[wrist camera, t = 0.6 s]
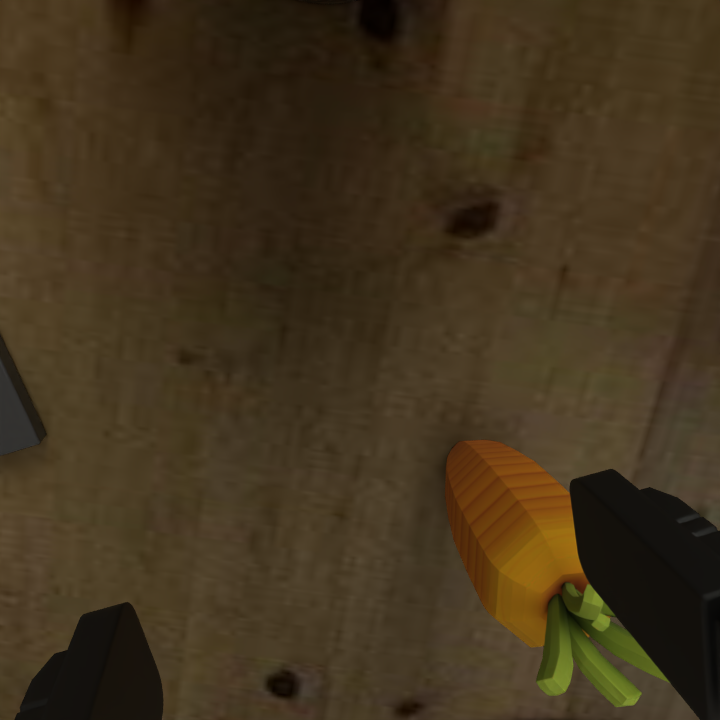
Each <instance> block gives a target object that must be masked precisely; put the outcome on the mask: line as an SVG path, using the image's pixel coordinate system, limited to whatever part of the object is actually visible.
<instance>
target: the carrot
mask: <svg viewBox="0 0 720 720" xmlns="http://www.w3.org/2000/svg"><path fill="white" fill-rule="evenodd" d="M445 499H446V505H447V512H448V518H449V522H450V526H451V531H452V535H453V539H454V542H455V544H456V547H457V549H458V552H459V554H460V556H461V559H462V561H463V563H464V566H465V568H466V571H467V573H468V575H469V577H470V579H471V581H472V583H473V585H474V587H475V589H476V592H477V594H478V596H479V598H480V600H481V602H482V604H483V606H484V607H485V609H486V610H487V612H488V613H489V614H491V615H492V616H493V617H494V618H495V619H496V620H498V621H499V622H500V623H501V624H503V625H504V626H505V627H506V628H507V629H509V630H510V631H511V632H512V633H514V634H515V635H516V636H517V637H519V638H520V639H521V640H522V641H523V642H525V643H526V644H527V645H528V646H530V647H539V646H544V650H543V659H542V662H541V665H540V669H539V672H538V676H537V680H536V682H537V684H538V685H539V687H540V688H541V690H542V691H544V692H545V693H546V694H547V695H549V696H551V695H559V694H562V693H564V692H566V690H567V688H568V686H569V684H570V681H571V676H572V671H573V658H574V660H575V662H576V663H577V665H578V667H579V669H580V670H581V671H582V672H583V674H584V675H585V676H586V677H587V678H588V679H589V680H590V682H591V683H592V684H593V685H594V686H595V687H596V688H597V689H598V691H599V692H601V693H602V694H603V695H604V696H605V697H606V698H607V699H608V700H609V701H610V702H611V703H612V704H613V705H614V706H615V707H620V706H630V705H634V704H635V703H636V702H637V700H638V699H639V697H640V696H641V694H642V693H641V692H640V691H639V690H638V689H637V688H636V687H635V686H634V685H633V684H632V683H631V682H630V681H629V680H628V679H627V678H626V677H625V676H624V675H623V674H622V673H621V672H619V671H618V670H617V669H616V668H615V667H614V666H613V665H612V664H611V663H610V662H609V661H607V660H606V659H605V658H604V657H603V656H602V655H601V653H600V652H599V651H598V650H597V648H596V647H595V646H594V645H593V643H592V642H591V641H590V640H589V638H588V637H589V636H591V637H592V638H593V639H594V640H596V641H597V642H598V643H599V644H601V645H602V646H603V647H605V648H606V649H607V650H609V651H610V652H611V653H613V654H614V655H615V656H617V657H619V658H621V659H623V660H625V661H627V662H628V663H630V664H632V665H634V666H636V667H638V668H640V669H641V670H643V671H645V672H647V673H649V674H651V675H654V676H656V677H658V678H660V679H662V680H665V681H667V682H669V681H668V680H667V678H666V677H665V676H664V675H663V673H662V672H661V671H660V670H659V669H658V667H657V666H656V665H655V664H654V662H653V661H652V660H651V659H650V658H649V656H648V655H647V654H646V653H645V651H644V650H643V649H642V648H641V646H640V645H639V644H638V643H637V642H636V640H635V639H634V638H633V637H632V635H631V634H630V633H629V632H628V631H627V630H626V629H624V628H622V627H620V626H618V625H616V624H615V623H613V622H611V621H610V617H616V616H615V615H614V613H613V612H612V611H611V610H610V609H609V607H608V606H607V605H606V604H605V602H604V601H603V600H602V599H601V598H600V596H599V595H598V594H597V593H596V591H595V590H594V589H593V588H592V586H591V585H590V583H589V582H588V580H587V578H586V576H585V574H584V572H583V569H582V567H581V564H580V560H579V557H578V552H577V544H576V537H575V529H574V521H573V513H572V505H571V498H570V493H569V492H568V491H567V490H566V489H565V488H564V487H563V486H561V485H560V484H559V483H558V482H557V481H556V480H555V479H554V478H553V477H552V476H550V475H549V474H548V473H547V472H546V471H545V470H544V469H543V468H541V467H540V466H539V465H538V464H537V463H536V462H535V461H533V460H531V459H530V458H528V457H526V456H525V455H523V454H521V453H520V452H518V451H516V450H514V449H512V448H510V447H508V446H506V445H504V444H503V443H501V442H495V441H490V440H472V441H459V442H458V443H457V444H456V445H455V446H454V447H453V448H452V449H451V451H450V453H449V455H448V456H447V464H446V483H445ZM572 657H573V658H572ZM669 683H670V682H669Z"/></svg>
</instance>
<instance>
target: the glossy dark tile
mask: <svg viewBox="0 0 720 720" xmlns="http://www.w3.org/2000/svg"><path fill="white" fill-rule="evenodd" d="M45 436H46V432H45V430H44V428H43V425H42V423H41V421H40V419H39V417H38V415H37V413H36V410H35V408H34V406H33V404H32V402H31V400H30V398H29V395H28V393H27V391H26V389H25V387H24V385H23V383H22V380H21V378H20V376H19V374H18V372H17V370H16V368H15V365H14V363H13V361H12V359H11V357H10V355H9V353H8V350H7V348H6V346H5V344H4V342H3V340H2V338H1V335H0V456H2V455H5V454H9V453H12V452H15V451H18V450H22V449H25V448H28V447H32V446H35V445H38V444H40V443H41V442H42V440H43V439H44V438H45Z"/></svg>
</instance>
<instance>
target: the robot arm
mask: <svg viewBox="0 0 720 720" xmlns="http://www.w3.org/2000/svg"><path fill="white" fill-rule="evenodd" d="M300 1H304V2H308V3H316V4H342V3H349V2H354V1H358V0H300ZM570 498H571V505H572V513H573V521H574V529H575V537H576V544H577V552H578V557H579V560H580V564H581V567H582V569H583V572H584V574H585V576H586V578H587V580H588V582H589V583H590V585H591V586H592V588H593V589H594V590H595V591H596V593H597V594H598V595H599V596H600V598H601V599H602V600H603V601H604V602H605V604H606V605H607V606H608V607H609V609H610V610H611V611H612V612H613V613H614V615H615V616H616V617H617V618H618V620H619V621H620V622H621V623H622V624H623V626H624V627H625V628H626V629H627V631H628V632H629V633H630V634H631V635H632V637H633V638H634V639H635V640H636V642H637V643H638V644H639V645H640V646H641V648H642V649H643V650H644V651H645V653H646V654H647V655H648V656H649V658H650V659H651V660H652V661H653V662H654V664H655V665H656V666H657V667H658V669H659V670H660V671H661V672H662V673H663V675H664V676H665V677H666V678H667V680H668V681H669V682H670V683H671V684H672V686H673V687H674V688H675V689H676V691H677V692H678V693H679V694H680V695H681V697H682V698H683V699H684V700H685V702H686V703H687V704H688V705H689V706H690V708H691V709H692V710H693V711H694V713H695V714H696V715H697V716H698V717H699V719H700V720H720V531H718V530H717V528H716V527H715V526H714V525H713V524H712V523H710V522H709V521H708V520H706V519H705V518H704V517H700V516H699V513H697V512H696V511H695V510H693V509H692V508H691V507H689V506H688V505H687V504H685V503H684V502H683V501H682V500H680V499H679V498H677V497H674V496H672V495H669V494H666V493H664V492H661V491H658V490H656V489H653V488H650V487H649V488H645V489H642V490H639V489H638V488H636V487H635V486H634V485H633V484H632V483H630V482H629V481H628V480H627V479H625V478H624V477H623V476H622V475H621V474H619V473H618V472H617V471H615V470H613V469H608V470H605V471H601V472H598V473H594V474H590V475H587V476H583V477H580V478H576V479H573V480H572V481H571V483H570ZM162 714H163V690H162V683H161V679H160V675H159V672H158V669H157V666H156V664H155V661H154V658H153V656H152V653H151V651H150V648H149V645H148V643H147V640H146V638H145V635H144V632H143V630H142V627H141V624H140V622H139V619H138V617H137V614H136V612H135V610H134V608H133V606H132V605H131V604H130V603H128V602H125V603H122V604H118V605H115V606H111V607H107V608H104V609H100V610H97V611H93V612H89V613H86V614H83V615H82V616H81V618H80V620H79V622H78V624H77V627H76V630H75V632H74V635H73V637H72V640H71V642H70V645H69V648H68V650H66V651H62V652H59V653H55V654H54V655H53V656H52V657H51V658H50V660H49V661H48V662H47V663H46V664H45V665H44V667H43V668H42V669H41V670H40V671H39V672H38V674H37V675H36V676H35V677H34V678H33V679H32V681H31V683H30V685H29V688H28V690H27V692H26V695H25V697H24V699H23V701H22V704H21V706H20V713H17V715H16V717H15V720H162Z"/></svg>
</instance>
